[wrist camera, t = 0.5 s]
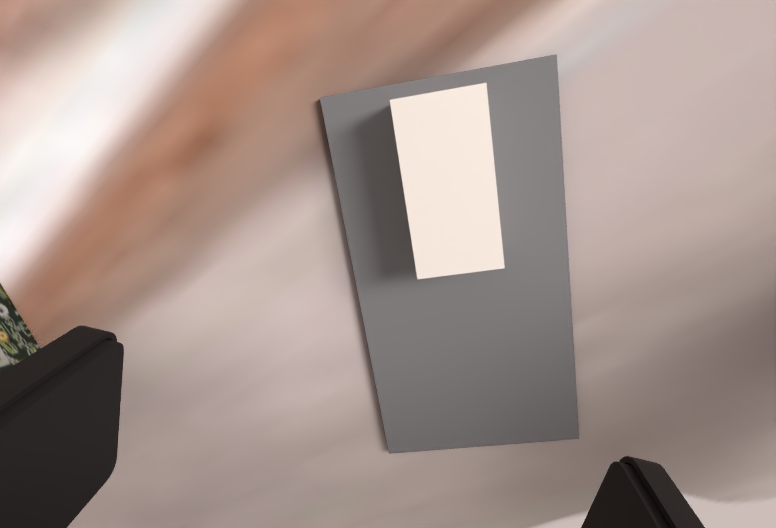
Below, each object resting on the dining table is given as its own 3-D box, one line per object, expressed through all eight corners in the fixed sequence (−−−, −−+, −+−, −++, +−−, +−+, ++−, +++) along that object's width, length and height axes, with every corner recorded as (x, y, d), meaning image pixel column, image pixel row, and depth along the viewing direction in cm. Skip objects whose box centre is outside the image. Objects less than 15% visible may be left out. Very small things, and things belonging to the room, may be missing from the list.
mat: (554, 55, 28) (556, 54, 27) (576, 433, 35) (579, 438, 34) (322, 98, 29) (319, 97, 29) (389, 448, 37) (389, 453, 36)
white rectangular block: (478, 86, 28) (486, 82, 24) (495, 249, 31) (504, 268, 27) (395, 102, 28) (389, 99, 25) (419, 259, 31) (417, 279, 28)
